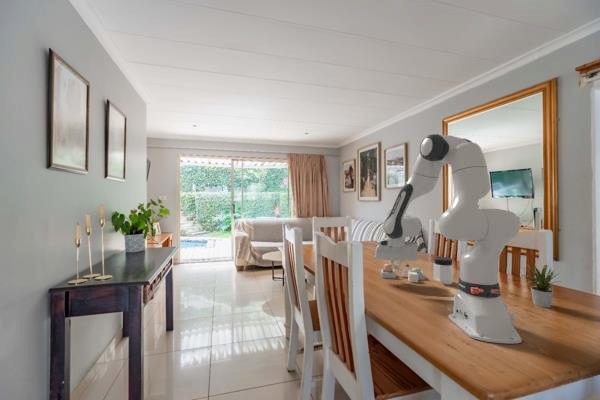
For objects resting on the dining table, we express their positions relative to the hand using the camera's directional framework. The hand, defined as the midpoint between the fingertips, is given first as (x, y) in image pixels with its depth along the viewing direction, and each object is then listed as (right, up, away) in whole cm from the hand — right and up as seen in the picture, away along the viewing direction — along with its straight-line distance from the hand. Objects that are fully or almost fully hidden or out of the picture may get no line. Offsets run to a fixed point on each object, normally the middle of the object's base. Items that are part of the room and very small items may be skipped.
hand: (396, 269), depth 141 cm
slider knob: (+8, -6, -1) cm, 10 cm away
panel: (+5, -7, +4) cm, 9 cm away
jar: (+24, -7, +1) cm, 25 cm away
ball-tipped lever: (+5, -5, +7) cm, 10 cm away
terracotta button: (-2, -4, +8) cm, 9 cm away
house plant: (+48, -7, -28) cm, 56 cm away
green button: (+12, -5, +5) cm, 14 cm away
